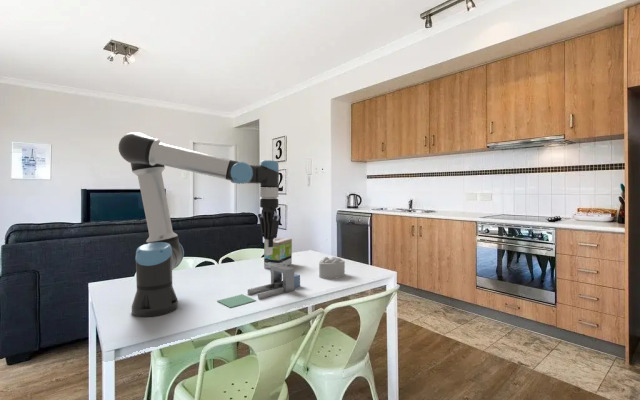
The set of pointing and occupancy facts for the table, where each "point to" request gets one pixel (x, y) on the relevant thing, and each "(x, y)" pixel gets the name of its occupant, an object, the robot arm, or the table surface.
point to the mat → (236, 301)
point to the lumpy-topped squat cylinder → (331, 268)
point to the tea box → (279, 253)
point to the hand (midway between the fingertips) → (268, 254)
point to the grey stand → (276, 277)
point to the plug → (296, 282)
